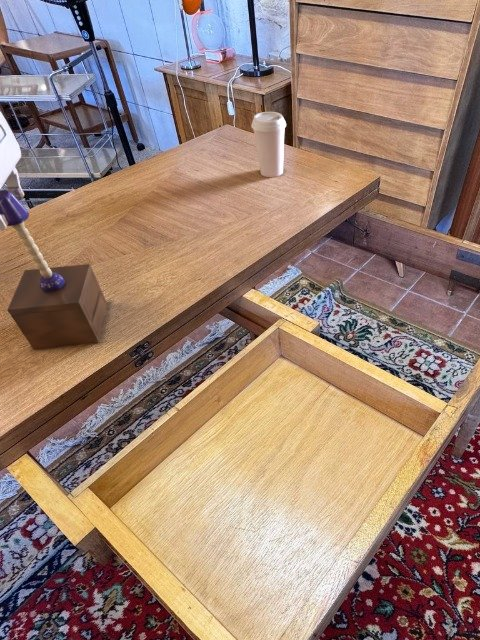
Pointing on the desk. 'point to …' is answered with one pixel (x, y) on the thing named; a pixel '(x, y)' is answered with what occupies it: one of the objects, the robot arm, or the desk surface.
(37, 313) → the lidded wooden box
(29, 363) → the desk surface
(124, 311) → the desk surface
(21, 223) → the toy lamp
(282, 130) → the coffee cup
